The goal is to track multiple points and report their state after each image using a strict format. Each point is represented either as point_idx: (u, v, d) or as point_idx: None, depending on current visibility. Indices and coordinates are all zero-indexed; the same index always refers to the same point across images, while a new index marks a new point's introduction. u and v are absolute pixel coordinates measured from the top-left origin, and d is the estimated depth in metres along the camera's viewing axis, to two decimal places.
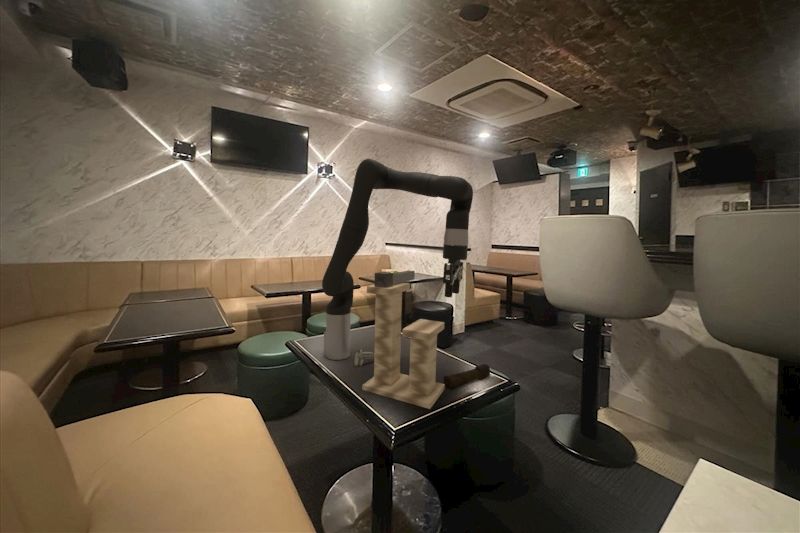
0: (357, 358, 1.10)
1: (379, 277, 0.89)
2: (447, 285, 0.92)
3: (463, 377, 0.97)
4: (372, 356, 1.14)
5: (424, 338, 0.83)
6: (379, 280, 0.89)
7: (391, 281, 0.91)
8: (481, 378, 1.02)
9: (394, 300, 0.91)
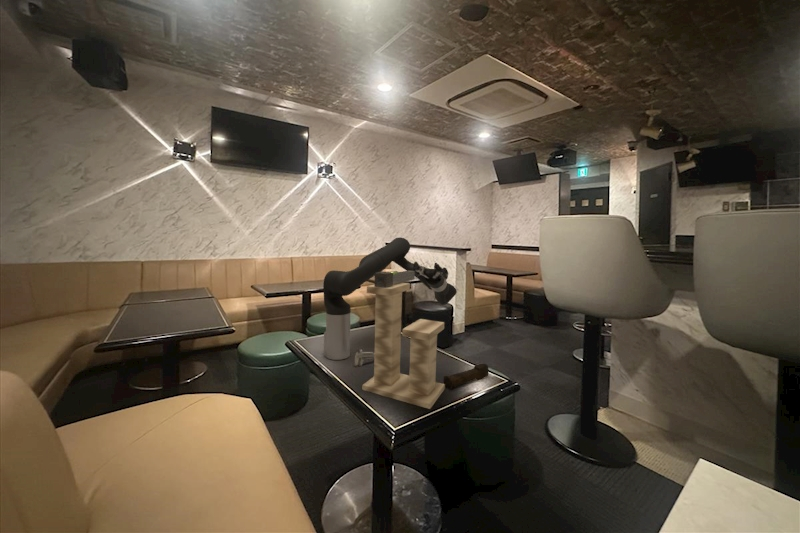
0: (357, 358, 1.10)
1: (379, 277, 0.89)
2: (440, 268, 1.21)
3: (463, 377, 0.97)
4: (372, 356, 1.14)
5: (424, 338, 0.83)
6: (379, 280, 0.89)
7: (391, 281, 0.91)
8: (480, 377, 1.02)
9: (394, 300, 0.91)
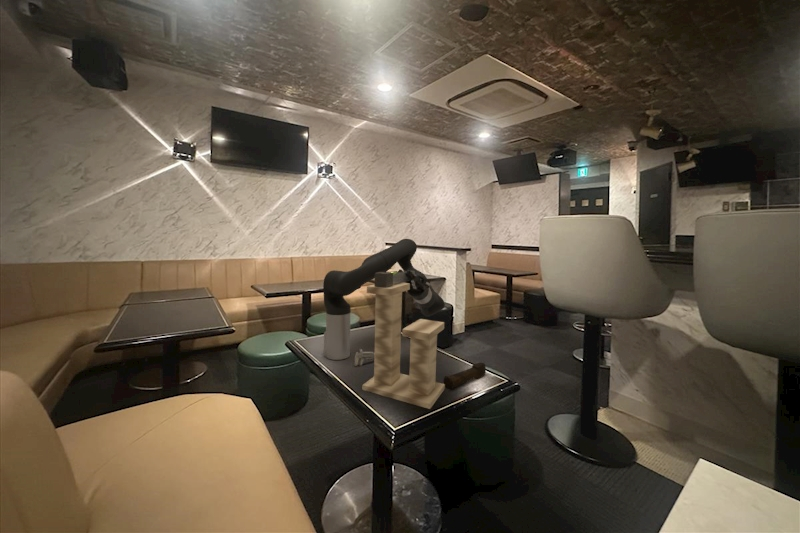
0: (357, 358, 1.10)
1: (379, 277, 0.89)
2: (414, 276, 1.05)
3: (463, 377, 0.98)
4: (372, 356, 1.14)
5: (424, 338, 0.83)
6: (379, 280, 0.89)
7: (391, 281, 0.91)
8: (478, 376, 1.03)
9: (394, 300, 0.91)
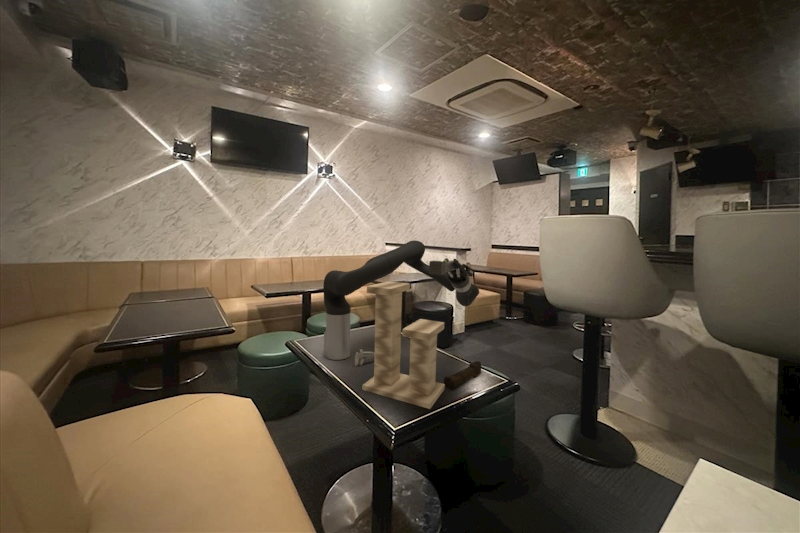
0: (357, 358, 1.10)
1: (434, 265, 0.95)
2: (459, 265, 1.11)
3: (462, 376, 0.98)
4: (372, 356, 1.14)
5: (424, 338, 0.83)
6: (434, 268, 0.95)
7: (444, 269, 0.97)
8: (476, 375, 1.04)
9: (394, 300, 0.91)
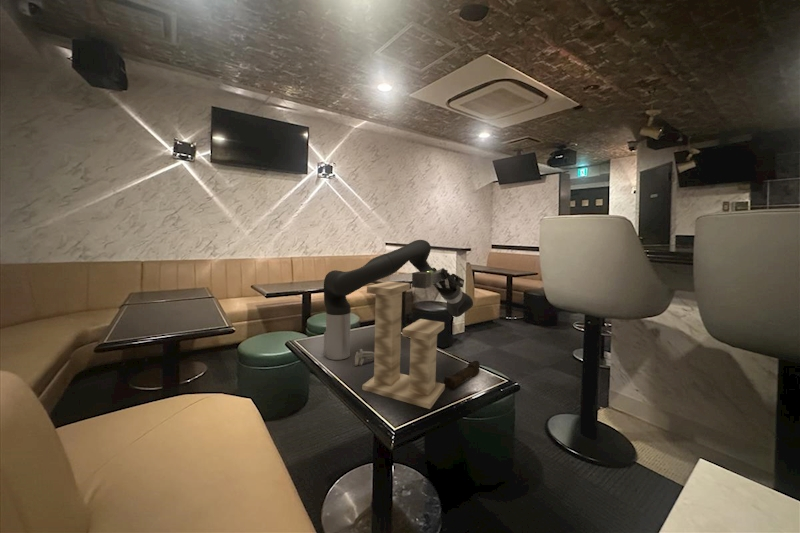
0: (357, 357, 1.10)
1: (417, 277, 0.84)
2: (448, 275, 0.99)
3: (462, 376, 0.98)
4: (372, 356, 1.14)
5: (424, 338, 0.83)
6: (417, 281, 0.84)
7: (429, 281, 0.86)
8: (474, 374, 1.04)
9: (394, 300, 0.91)
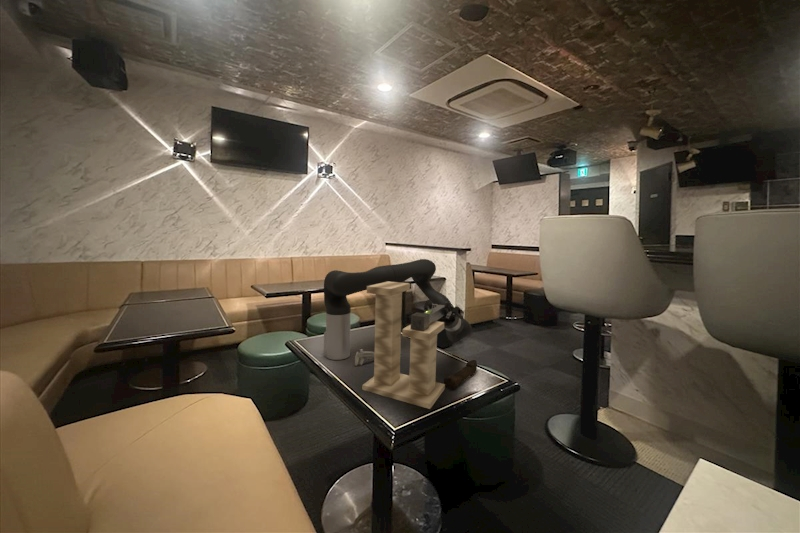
0: (357, 357, 1.10)
1: (416, 320, 0.85)
2: (452, 308, 1.00)
3: (462, 376, 0.98)
4: (372, 355, 1.14)
5: (424, 338, 0.83)
6: (416, 323, 0.85)
7: (428, 323, 0.87)
8: (472, 374, 1.05)
9: (394, 300, 0.91)
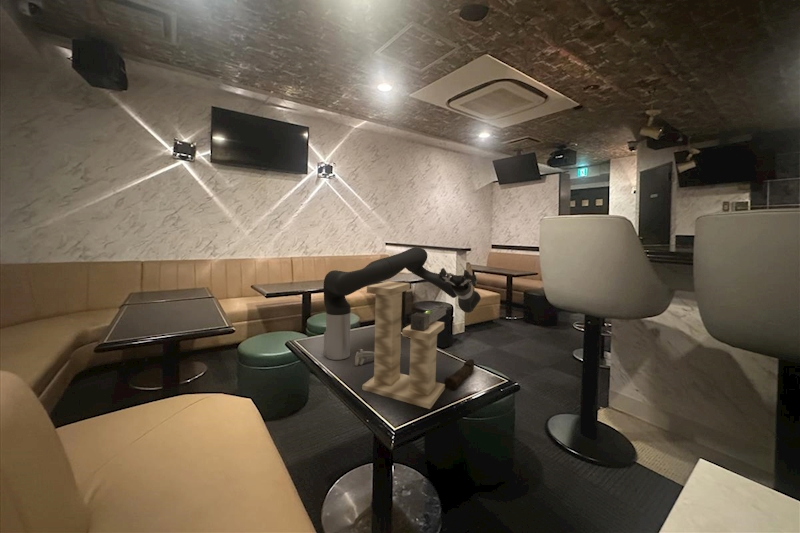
0: (357, 357, 1.10)
1: (416, 320, 0.85)
2: (469, 275, 1.14)
3: (462, 375, 0.99)
4: (373, 355, 1.14)
5: (424, 338, 0.83)
6: (416, 323, 0.85)
7: (428, 323, 0.87)
8: (471, 373, 1.06)
9: (394, 300, 0.91)
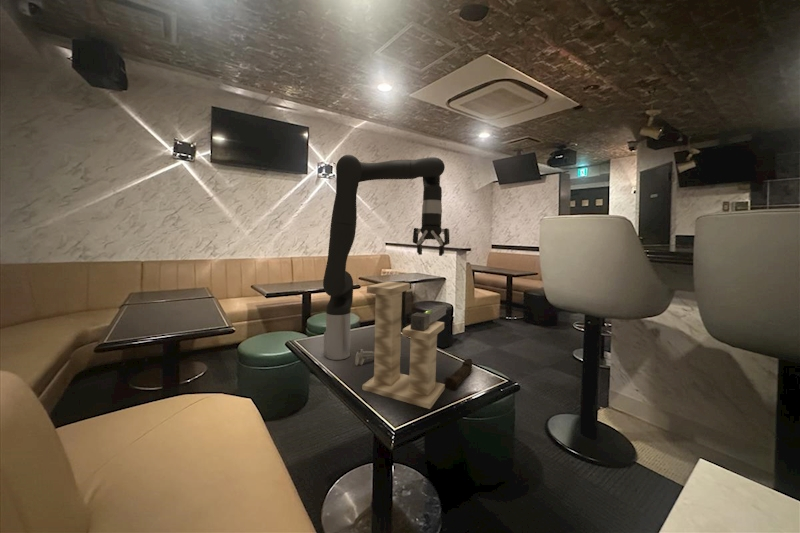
0: (358, 357, 1.10)
1: (416, 320, 0.85)
2: (443, 246, 1.16)
3: (461, 375, 0.99)
4: (373, 355, 1.14)
5: (424, 338, 0.83)
6: (416, 323, 0.85)
7: (428, 323, 0.87)
8: (469, 373, 1.06)
9: (394, 300, 0.91)
